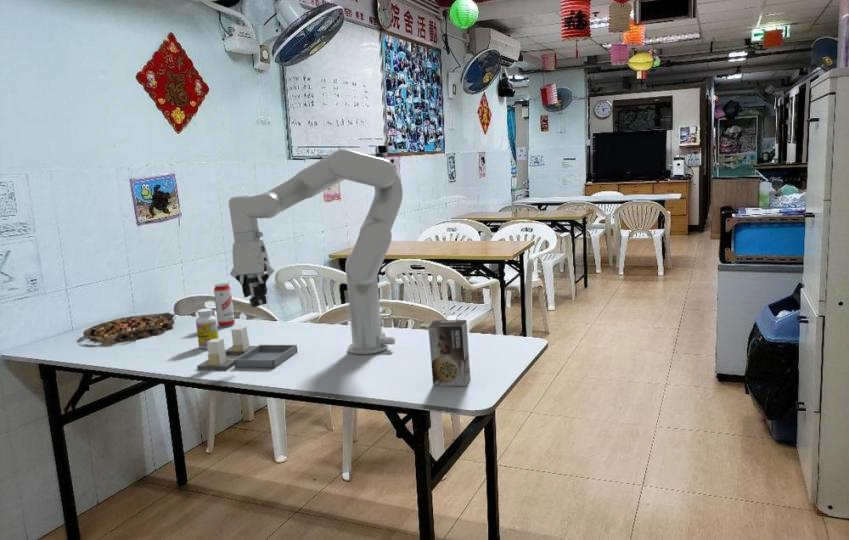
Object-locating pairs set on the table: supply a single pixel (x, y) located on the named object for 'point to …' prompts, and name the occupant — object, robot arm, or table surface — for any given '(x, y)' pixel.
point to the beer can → (224, 305)
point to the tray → (266, 356)
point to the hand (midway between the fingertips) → (255, 295)
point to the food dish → (131, 328)
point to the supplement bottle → (206, 327)
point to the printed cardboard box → (449, 353)
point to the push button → (255, 291)
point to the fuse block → (219, 353)
